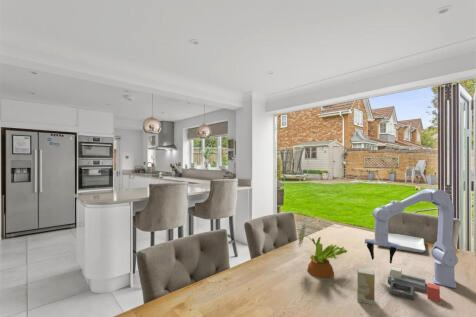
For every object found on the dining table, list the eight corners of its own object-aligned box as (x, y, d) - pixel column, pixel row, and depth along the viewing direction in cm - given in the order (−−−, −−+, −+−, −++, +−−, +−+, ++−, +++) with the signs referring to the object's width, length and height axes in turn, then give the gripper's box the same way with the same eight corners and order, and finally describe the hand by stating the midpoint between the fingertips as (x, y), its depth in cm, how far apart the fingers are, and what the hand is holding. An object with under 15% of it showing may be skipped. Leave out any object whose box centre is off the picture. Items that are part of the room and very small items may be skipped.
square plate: (374, 247, 165) (374, 241, 165) (379, 236, 188) (379, 231, 188) (425, 255, 150) (425, 249, 150) (423, 243, 172) (423, 237, 172)
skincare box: (357, 301, 102) (357, 272, 102) (356, 296, 106) (356, 267, 106) (375, 305, 100) (375, 274, 100) (373, 299, 104) (373, 269, 104)
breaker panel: (390, 275, 125) (390, 270, 125) (425, 283, 116) (425, 278, 116) (387, 283, 117) (387, 277, 117) (424, 292, 108) (424, 286, 108)
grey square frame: (391, 285, 114) (391, 281, 115) (414, 291, 109) (414, 286, 109) (388, 293, 108) (388, 289, 108) (412, 300, 103) (412, 295, 103)
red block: (427, 294, 107) (427, 282, 107) (439, 297, 104) (439, 285, 104) (427, 298, 104) (427, 286, 104) (439, 301, 101) (439, 289, 101)
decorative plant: (303, 259, 145) (303, 216, 145) (349, 267, 135) (348, 220, 135) (292, 279, 121) (291, 228, 121) (346, 290, 111) (345, 234, 111)
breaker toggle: (392, 274, 122) (391, 266, 122) (401, 276, 119) (401, 268, 119) (390, 277, 119) (390, 269, 119) (400, 280, 116) (400, 271, 116)
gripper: (363, 232, 123) (363, 259, 123) (398, 237, 114) (398, 267, 114) (366, 229, 128) (366, 255, 128) (399, 233, 120) (399, 262, 119)
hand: (381, 260), depth 122 cm, fingers open, 7 cm apart
